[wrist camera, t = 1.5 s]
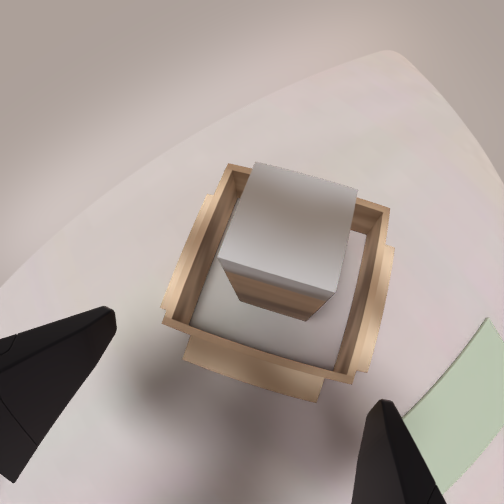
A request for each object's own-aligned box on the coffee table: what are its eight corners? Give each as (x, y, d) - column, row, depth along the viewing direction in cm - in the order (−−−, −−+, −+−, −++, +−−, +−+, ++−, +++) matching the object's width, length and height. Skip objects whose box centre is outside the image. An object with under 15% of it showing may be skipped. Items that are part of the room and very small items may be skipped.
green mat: (431, 501, 14) (433, 503, 14) (378, 438, 17) (380, 440, 17) (524, 388, 17) (527, 388, 16) (486, 318, 20) (488, 317, 19)
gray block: (305, 321, 21) (335, 292, 12) (240, 301, 22) (217, 257, 12) (323, 258, 22) (358, 189, 13) (261, 239, 23) (255, 161, 14)
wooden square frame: (353, 410, 18) (371, 421, 15) (148, 344, 21) (124, 340, 17) (397, 217, 23) (415, 194, 19) (220, 167, 26) (213, 138, 22)
